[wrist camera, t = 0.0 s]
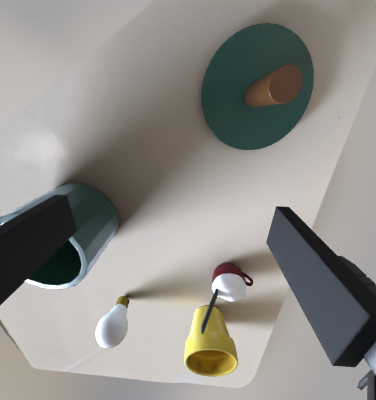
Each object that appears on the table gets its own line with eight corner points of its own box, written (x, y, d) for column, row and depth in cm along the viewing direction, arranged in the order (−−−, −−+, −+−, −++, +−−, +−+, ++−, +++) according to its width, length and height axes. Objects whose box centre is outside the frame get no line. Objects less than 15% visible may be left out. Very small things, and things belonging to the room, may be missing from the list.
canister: (40, 181, 31) (-31, 211, 21) (113, 185, 30) (74, 217, 21) (60, 240, 36) (11, 285, 26) (122, 244, 36) (95, 291, 26)
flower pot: (223, 295, 41) (230, 346, 32) (234, 322, 45) (243, 374, 36) (180, 304, 43) (176, 353, 34) (195, 329, 46) (194, 379, 38)
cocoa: (252, 265, 36) (275, 329, 25) (237, 285, 39) (252, 350, 28) (209, 250, 35) (214, 311, 24) (197, 271, 38) (196, 334, 27)
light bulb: (107, 294, 42) (82, 343, 33) (124, 284, 41) (104, 333, 32) (125, 308, 44) (106, 357, 35) (142, 299, 42) (127, 349, 33)
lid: (205, 26, 21) (211, -38, 12) (324, 29, 21) (418, -34, 12) (198, 146, 27) (198, 161, 18) (290, 150, 26) (337, 168, 18)
